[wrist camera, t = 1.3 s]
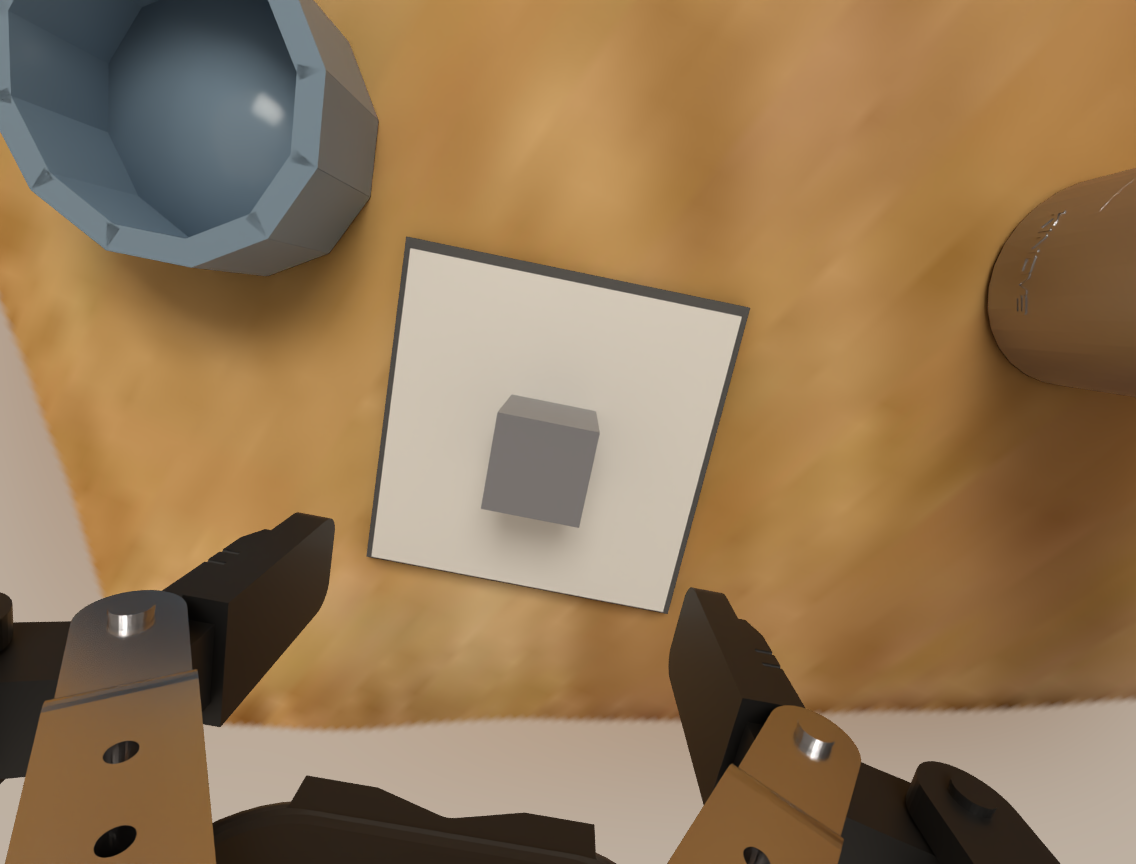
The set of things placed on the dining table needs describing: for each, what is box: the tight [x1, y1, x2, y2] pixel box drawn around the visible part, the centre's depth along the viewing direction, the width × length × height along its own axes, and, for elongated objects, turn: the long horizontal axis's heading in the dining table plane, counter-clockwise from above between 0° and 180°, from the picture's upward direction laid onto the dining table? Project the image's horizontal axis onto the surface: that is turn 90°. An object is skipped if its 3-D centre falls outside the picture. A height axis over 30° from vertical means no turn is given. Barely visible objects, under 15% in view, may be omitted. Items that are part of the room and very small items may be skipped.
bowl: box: [0, 0, 378, 276], centre depth 21 cm, size 12×12×5 cm
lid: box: [371, 248, 742, 612], centre depth 23 cm, size 15×15×5 cm
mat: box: [367, 237, 750, 614], centre depth 26 cm, size 16×16×1 cm
